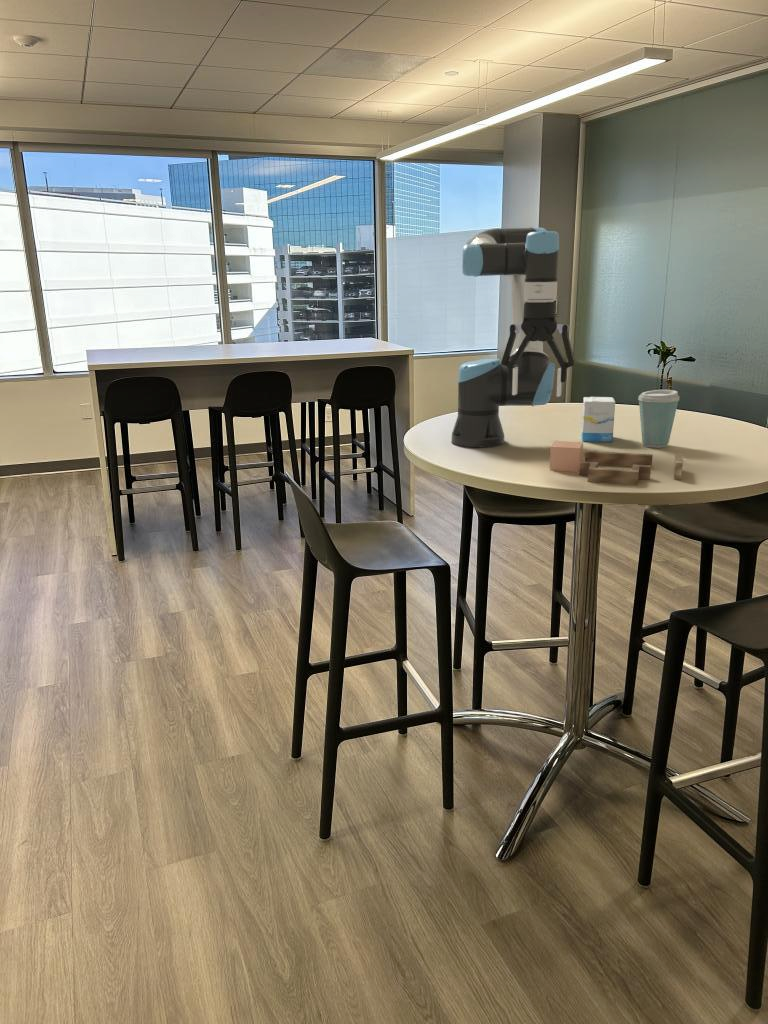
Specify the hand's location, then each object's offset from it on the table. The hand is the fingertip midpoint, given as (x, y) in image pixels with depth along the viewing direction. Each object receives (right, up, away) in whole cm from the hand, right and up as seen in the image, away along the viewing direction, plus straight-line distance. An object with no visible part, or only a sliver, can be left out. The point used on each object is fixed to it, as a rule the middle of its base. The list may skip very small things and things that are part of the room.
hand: (536, 395), depth 184 cm
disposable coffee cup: (+37, -11, +24) cm, 45 cm away
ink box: (+24, -8, +33) cm, 42 cm away
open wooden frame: (+21, -20, -5) cm, 29 cm away
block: (+8, -18, +3) cm, 20 cm away
